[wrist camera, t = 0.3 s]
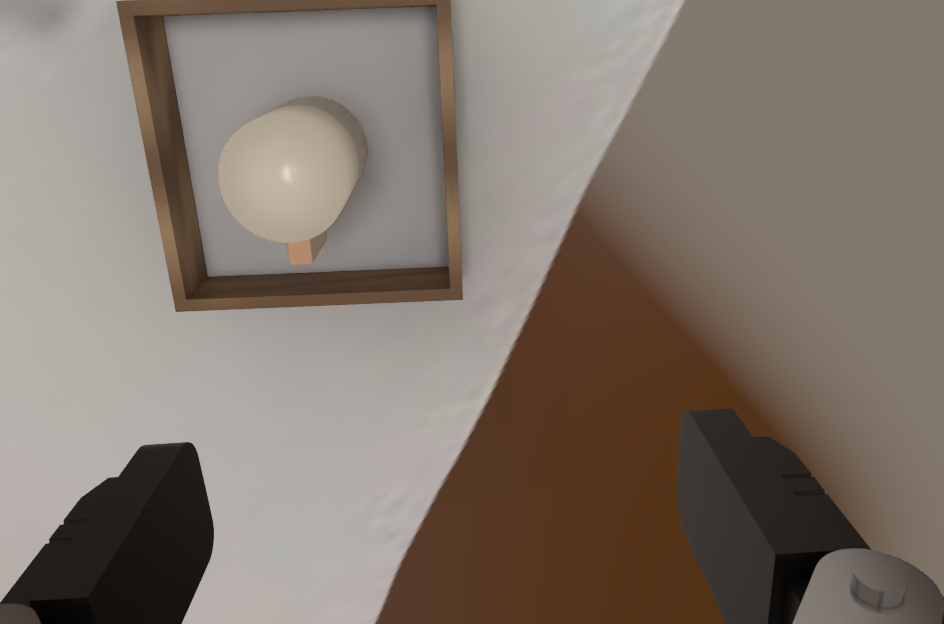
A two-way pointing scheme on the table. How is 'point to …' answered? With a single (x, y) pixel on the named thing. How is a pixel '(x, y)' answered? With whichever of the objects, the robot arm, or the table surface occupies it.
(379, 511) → the table surface
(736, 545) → the robot arm
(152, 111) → the holder
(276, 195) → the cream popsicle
